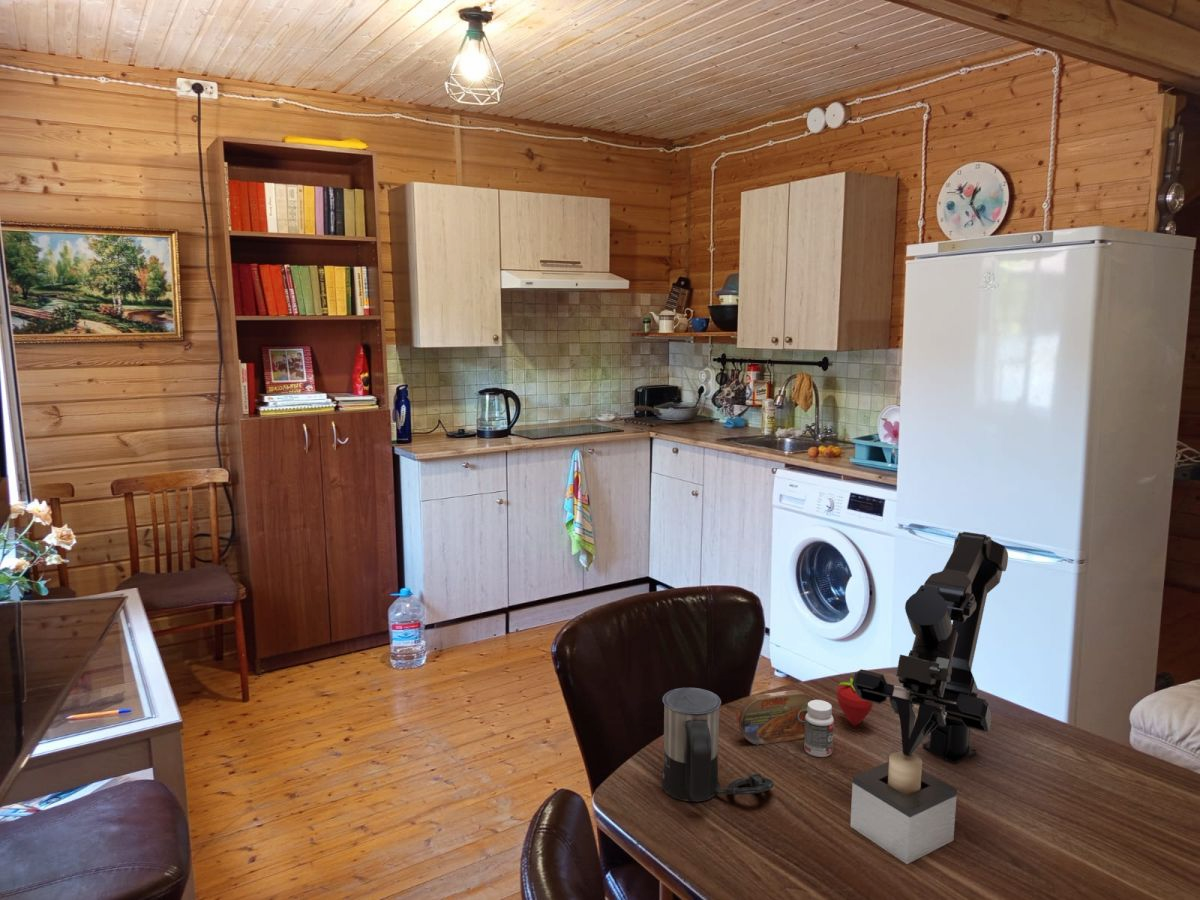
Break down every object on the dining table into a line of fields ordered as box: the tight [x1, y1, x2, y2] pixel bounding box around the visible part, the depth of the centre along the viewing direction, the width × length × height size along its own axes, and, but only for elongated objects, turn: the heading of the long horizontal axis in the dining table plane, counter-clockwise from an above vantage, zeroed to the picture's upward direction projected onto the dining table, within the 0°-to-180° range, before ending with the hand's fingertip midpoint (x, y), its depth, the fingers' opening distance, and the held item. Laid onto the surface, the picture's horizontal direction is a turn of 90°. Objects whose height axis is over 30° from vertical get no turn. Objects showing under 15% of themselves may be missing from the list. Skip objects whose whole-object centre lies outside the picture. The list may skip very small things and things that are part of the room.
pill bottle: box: [804, 699, 835, 758], centre depth 143 cm, size 5×5×8 cm
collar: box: [850, 761, 958, 865], centre depth 120 cm, size 10×10×8 cm
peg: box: [888, 751, 923, 796], centre depth 120 cm, size 4×4×8 cm
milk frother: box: [661, 687, 774, 802], centre depth 131 cm, size 14×16×15 cm
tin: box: [736, 689, 815, 745], centre depth 147 cm, size 15×3×8 cm, turn 104°
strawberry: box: [836, 673, 874, 727], centre depth 152 cm, size 6×8×10 cm
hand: (906, 754), depth 119 cm, fingers closed
